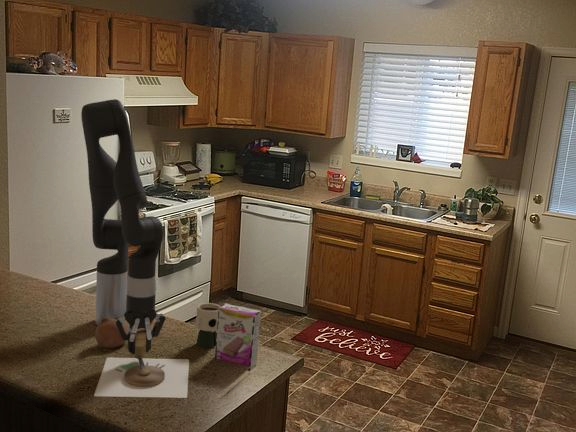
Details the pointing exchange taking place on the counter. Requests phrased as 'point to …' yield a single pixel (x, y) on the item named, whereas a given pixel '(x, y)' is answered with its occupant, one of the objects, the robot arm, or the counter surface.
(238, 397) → the counter surface
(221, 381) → the counter surface
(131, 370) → the tuning dial
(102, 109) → the robot arm
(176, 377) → the dial panel
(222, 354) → the candy bar box
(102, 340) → the onion
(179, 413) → the counter surface
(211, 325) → the character mug
